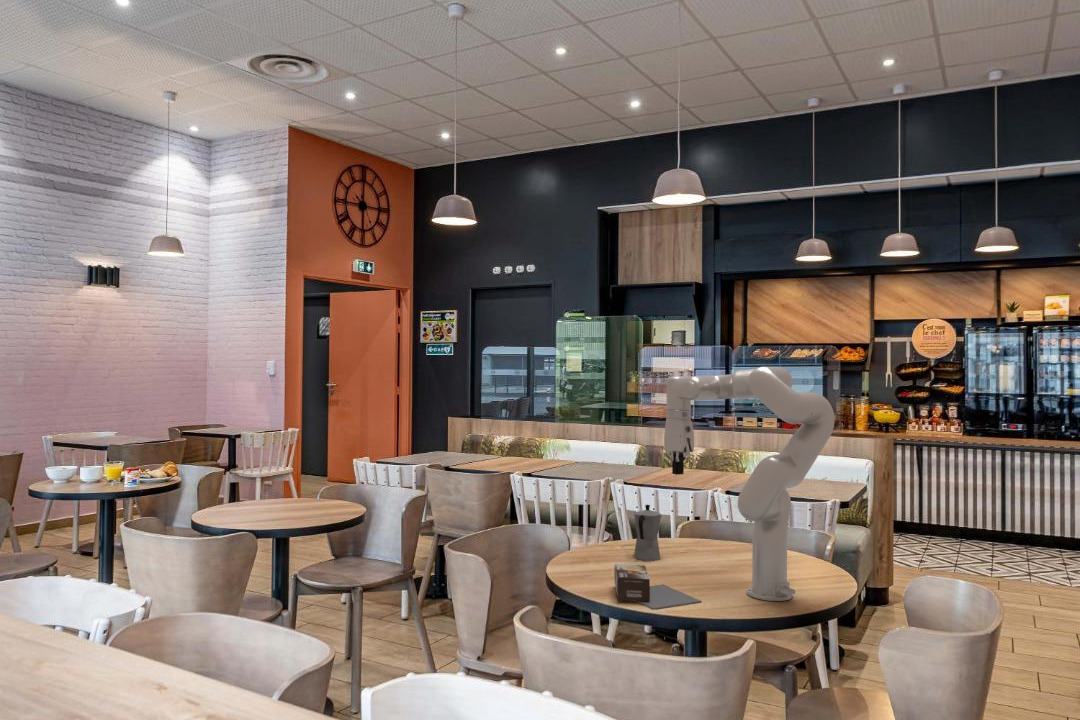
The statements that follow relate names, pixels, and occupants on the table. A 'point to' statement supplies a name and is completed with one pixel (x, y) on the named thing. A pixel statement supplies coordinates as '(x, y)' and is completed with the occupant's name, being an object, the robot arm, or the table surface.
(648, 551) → the coffeepot
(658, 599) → the mat
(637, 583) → the coffee box
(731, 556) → the table surface
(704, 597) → the table surface
